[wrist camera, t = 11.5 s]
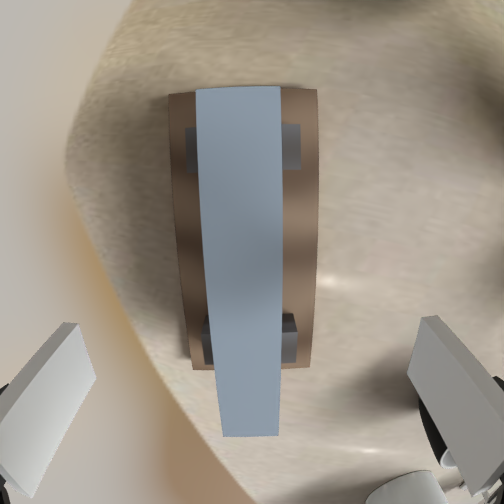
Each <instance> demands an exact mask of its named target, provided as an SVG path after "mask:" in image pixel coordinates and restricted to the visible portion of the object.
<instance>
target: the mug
mask: <svg viewBox="0 0 504 504" xmlns="http://www.w3.org/2000/svg"><path fill="white" fill-rule="evenodd" d="M419 410H420V415H421V419H422V422H423V426H424V429H425V431H426V434H427V437H428V440H429V442H430V445H431V447H432V450H433V452H434V454H435V457H436V459H437V461H438V463H439V464H440V466H441V467H442V468H445V469H450V468H455V467H457V465H456V463H455V461H454V459H453V457H452V455H451V453H450V451H449V449H448V447H447V446H446V444H445V442H444V440H443V438H442V436H441V434H440V432H439V430H438V428H437V427H436V425H435V423H434V421H433V419H432V417H431V416H430V414H429V412H428V410H427V408H426V406H425V405H424V403H423V401H422V399H421V398H420V397H419Z"/></svg>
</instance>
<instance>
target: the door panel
mask: <svg viewBox="0 0 504 504" xmlns="http://www.w3.org/2000/svg"><path fill="white" fill-rule="evenodd" d="M196 124H197V153H198V176H199V195H200V212H201V228H202V242H203V256H204V268H205V280H206V292H207V303H208V313H209V323H210V333H211V343H212V352H213V361H214V369H215V378H216V386H217V394H218V402H219V409H220V417H221V424H222V431H223V437H254V436H278V432H279V408H280V380H281V345H282V287H283V186H282V130H281V95H280V86H246V87H223V88H207V89H196Z"/></svg>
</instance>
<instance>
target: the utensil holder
mask: <svg viewBox="0 0 504 504" xmlns="http://www.w3.org/2000/svg"><path fill="white" fill-rule="evenodd" d="M366 504H449V503H448V501H447V499H446V497H445V495H444V493H443V491H442V489H441V487H440V485H439V483H438V481H437V479H436V478H435V476H434V474H433V473H432V472H430V471H417V472H412V473H409V474H406V475H403V476H400V477H398V478H396V479H393V480H391V481H389V482H388V483H386V484H384V485H382V486H381V487H379V488H377V489H376V490H375V491H373V492H372V493H371V494H370V495H369V496H368V498H367V500H366Z"/></svg>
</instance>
